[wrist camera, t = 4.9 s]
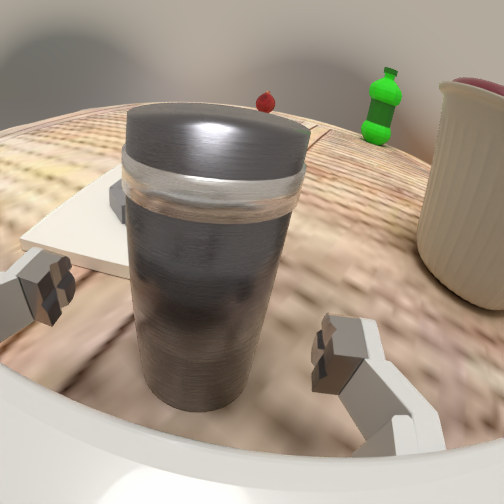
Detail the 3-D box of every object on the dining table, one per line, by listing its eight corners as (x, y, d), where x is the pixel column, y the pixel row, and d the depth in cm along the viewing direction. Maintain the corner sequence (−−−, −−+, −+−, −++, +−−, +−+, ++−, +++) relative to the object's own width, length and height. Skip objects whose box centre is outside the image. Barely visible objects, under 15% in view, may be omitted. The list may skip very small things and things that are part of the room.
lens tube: (125, 395, 11) (83, 122, 6) (160, 317, 16) (165, 99, 10) (243, 424, 11) (326, 154, 6) (255, 337, 16) (307, 120, 10)
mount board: (22, 249, 18) (15, 219, 17) (123, 169, 33) (124, 149, 32) (265, 308, 18) (274, 275, 17) (276, 194, 33) (281, 173, 32)
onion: (266, 117, 85) (271, 92, 81) (250, 113, 88) (254, 88, 83) (276, 116, 90) (280, 93, 85) (260, 113, 92) (264, 89, 88)
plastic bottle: (382, 148, 80) (402, 70, 67) (352, 136, 86) (369, 61, 72) (392, 148, 87) (411, 77, 73) (364, 137, 92) (381, 68, 79)
